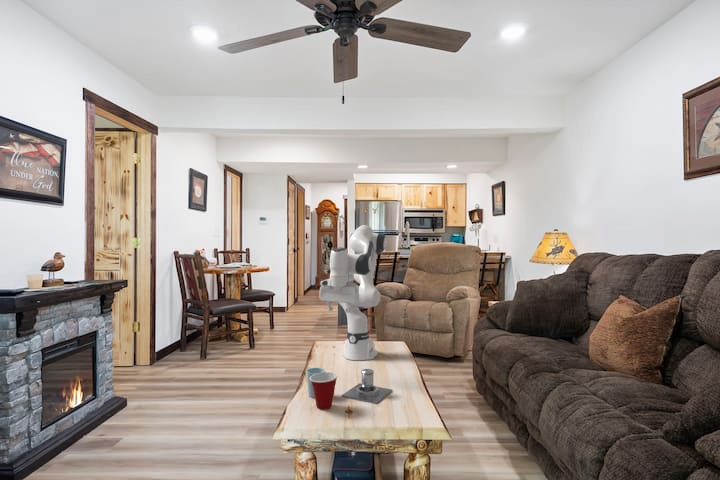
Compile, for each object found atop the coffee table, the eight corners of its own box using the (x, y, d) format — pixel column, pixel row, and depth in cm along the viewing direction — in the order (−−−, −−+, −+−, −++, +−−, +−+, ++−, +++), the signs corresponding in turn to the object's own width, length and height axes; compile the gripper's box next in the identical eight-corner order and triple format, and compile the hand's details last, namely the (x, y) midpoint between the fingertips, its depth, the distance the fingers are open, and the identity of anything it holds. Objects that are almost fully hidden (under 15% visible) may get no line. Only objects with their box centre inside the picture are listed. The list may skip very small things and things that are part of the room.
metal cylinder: (364, 389, 172) (364, 368, 172) (375, 391, 170) (375, 369, 170) (359, 393, 168) (359, 371, 168) (370, 395, 165) (370, 373, 165)
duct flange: (359, 384, 179) (359, 379, 180) (392, 390, 172) (392, 385, 172) (341, 396, 165) (341, 391, 165) (376, 404, 158) (376, 398, 158)
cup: (326, 398, 164) (326, 372, 164) (307, 400, 162) (307, 374, 162) (323, 391, 171) (323, 367, 171) (305, 393, 169) (305, 368, 169)
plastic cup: (310, 401, 160) (310, 371, 160) (337, 400, 161) (337, 370, 161) (308, 413, 149) (308, 380, 149) (337, 412, 150) (337, 380, 150)
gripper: (361, 282, 187) (361, 312, 187) (324, 280, 197) (324, 308, 197) (355, 283, 182) (355, 314, 182) (317, 281, 191) (317, 310, 191)
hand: (339, 311), depth 189 cm, fingers open, 8 cm apart
